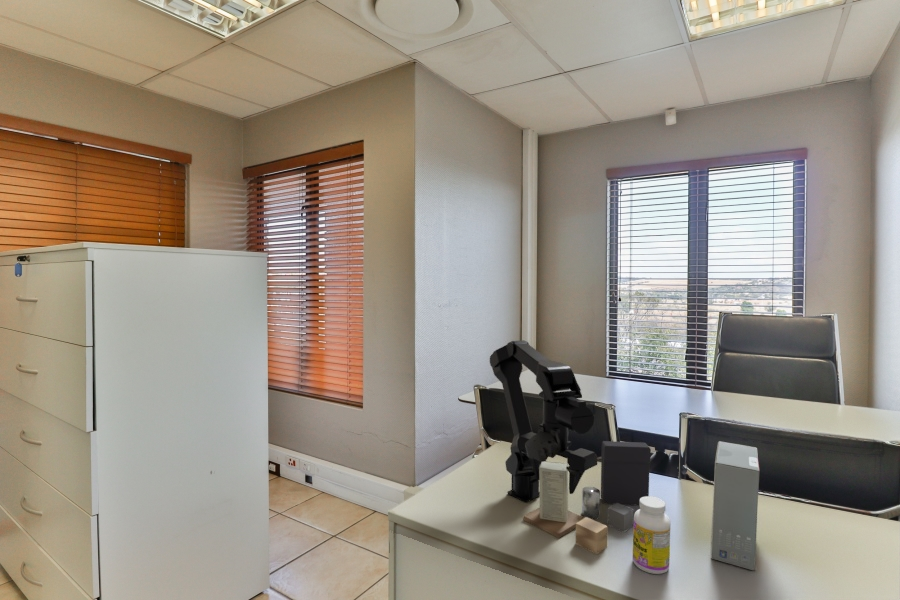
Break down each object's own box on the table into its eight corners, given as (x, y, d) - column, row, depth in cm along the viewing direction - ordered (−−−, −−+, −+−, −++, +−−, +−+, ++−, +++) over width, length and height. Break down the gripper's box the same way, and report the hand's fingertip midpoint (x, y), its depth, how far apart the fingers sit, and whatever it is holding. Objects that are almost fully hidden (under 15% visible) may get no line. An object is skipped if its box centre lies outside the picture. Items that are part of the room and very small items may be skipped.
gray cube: (607, 525, 107) (607, 508, 107) (616, 519, 109) (617, 502, 109) (623, 532, 104) (624, 514, 104) (632, 526, 106) (633, 509, 106)
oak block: (575, 543, 99) (575, 523, 99) (586, 537, 102) (586, 516, 102) (596, 554, 95) (596, 533, 95) (607, 547, 98) (607, 526, 98)
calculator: (643, 499, 119) (645, 441, 118) (649, 507, 115) (650, 447, 114) (599, 496, 120) (600, 439, 119) (603, 505, 116) (604, 445, 115)
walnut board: (523, 519, 109) (523, 515, 109) (549, 506, 115) (549, 502, 115) (559, 538, 101) (559, 533, 101) (585, 522, 108) (585, 517, 108)
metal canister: (578, 514, 111) (579, 489, 111) (588, 509, 114) (588, 485, 114) (593, 521, 108) (594, 495, 108) (602, 515, 111) (603, 490, 111)
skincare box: (568, 514, 109) (569, 463, 109) (566, 523, 105) (567, 471, 105) (541, 509, 111) (541, 459, 111) (538, 518, 107) (539, 467, 107)
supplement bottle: (626, 555, 95) (627, 494, 94) (657, 554, 95) (659, 493, 95) (642, 576, 88) (644, 510, 88) (676, 575, 89) (678, 509, 88)
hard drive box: (755, 573, 90) (759, 471, 88) (710, 560, 94) (713, 462, 93) (754, 535, 103) (757, 446, 102) (714, 525, 107) (716, 439, 106)
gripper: (501, 417, 109) (501, 483, 110) (569, 438, 95) (568, 513, 95) (531, 408, 116) (531, 470, 117) (599, 427, 102) (598, 496, 103)
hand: (554, 486), depth 108 cm, fingers open, 9 cm apart
